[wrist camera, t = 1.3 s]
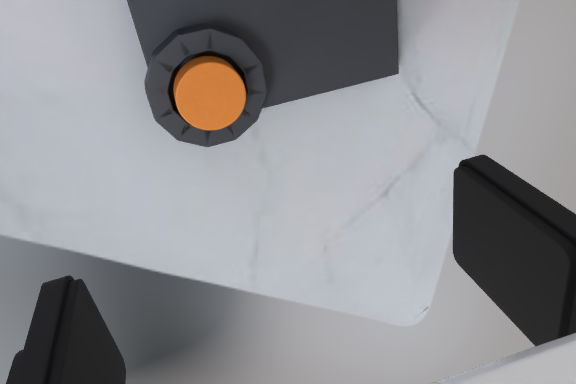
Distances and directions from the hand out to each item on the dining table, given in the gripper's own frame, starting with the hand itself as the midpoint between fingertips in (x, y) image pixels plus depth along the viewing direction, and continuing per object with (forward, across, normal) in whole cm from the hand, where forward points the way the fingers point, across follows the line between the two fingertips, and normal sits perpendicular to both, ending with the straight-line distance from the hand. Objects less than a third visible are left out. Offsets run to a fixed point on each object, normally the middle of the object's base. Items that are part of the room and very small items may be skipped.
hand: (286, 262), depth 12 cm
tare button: (+19, 0, +1) cm, 19 cm away
